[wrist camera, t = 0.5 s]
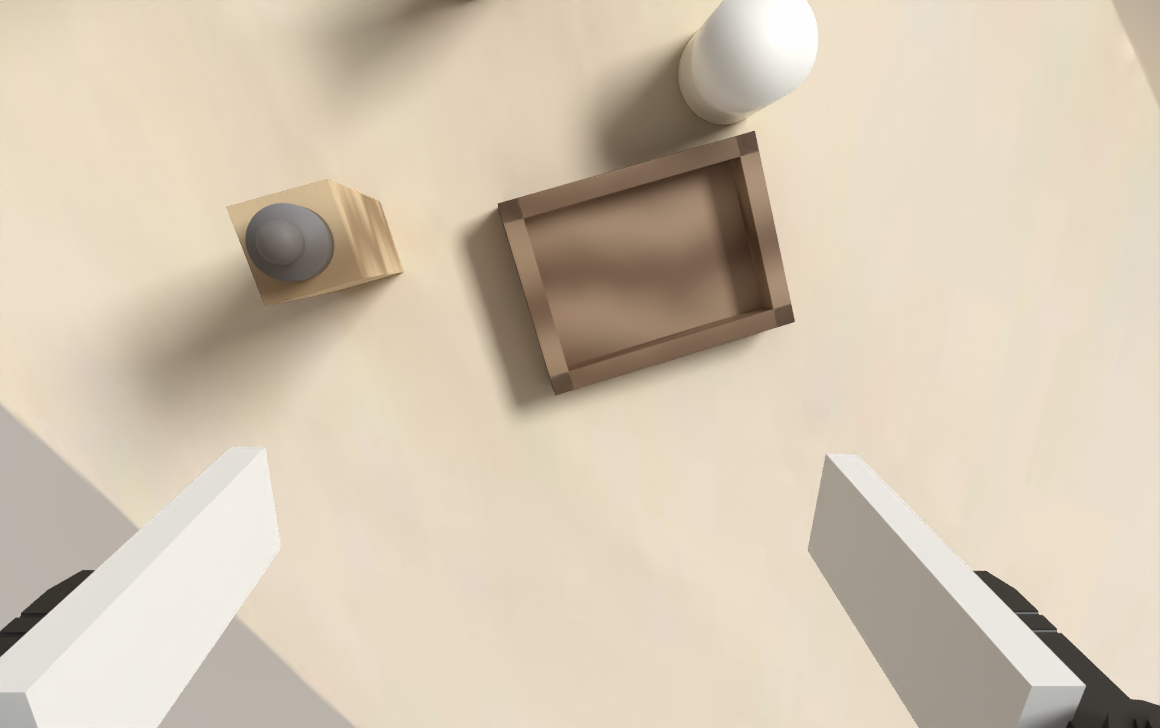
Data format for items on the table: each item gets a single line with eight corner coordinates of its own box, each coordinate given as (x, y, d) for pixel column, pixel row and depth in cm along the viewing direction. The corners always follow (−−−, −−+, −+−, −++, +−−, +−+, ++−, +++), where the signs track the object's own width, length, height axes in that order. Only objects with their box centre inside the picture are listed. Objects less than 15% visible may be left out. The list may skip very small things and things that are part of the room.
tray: (498, 207, 38) (497, 203, 35) (738, 138, 39) (754, 130, 36) (552, 386, 40) (555, 395, 38) (777, 318, 41) (794, 321, 39)
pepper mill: (308, 221, 36) (194, 201, 23) (379, 201, 37) (307, 170, 23) (334, 291, 37) (238, 311, 24) (403, 271, 38) (347, 280, 24)
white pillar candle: (667, 36, 37) (698, -6, 31) (759, 11, 37) (806, -34, 32) (690, 135, 38) (724, 113, 32) (778, 110, 39) (827, 84, 33)
